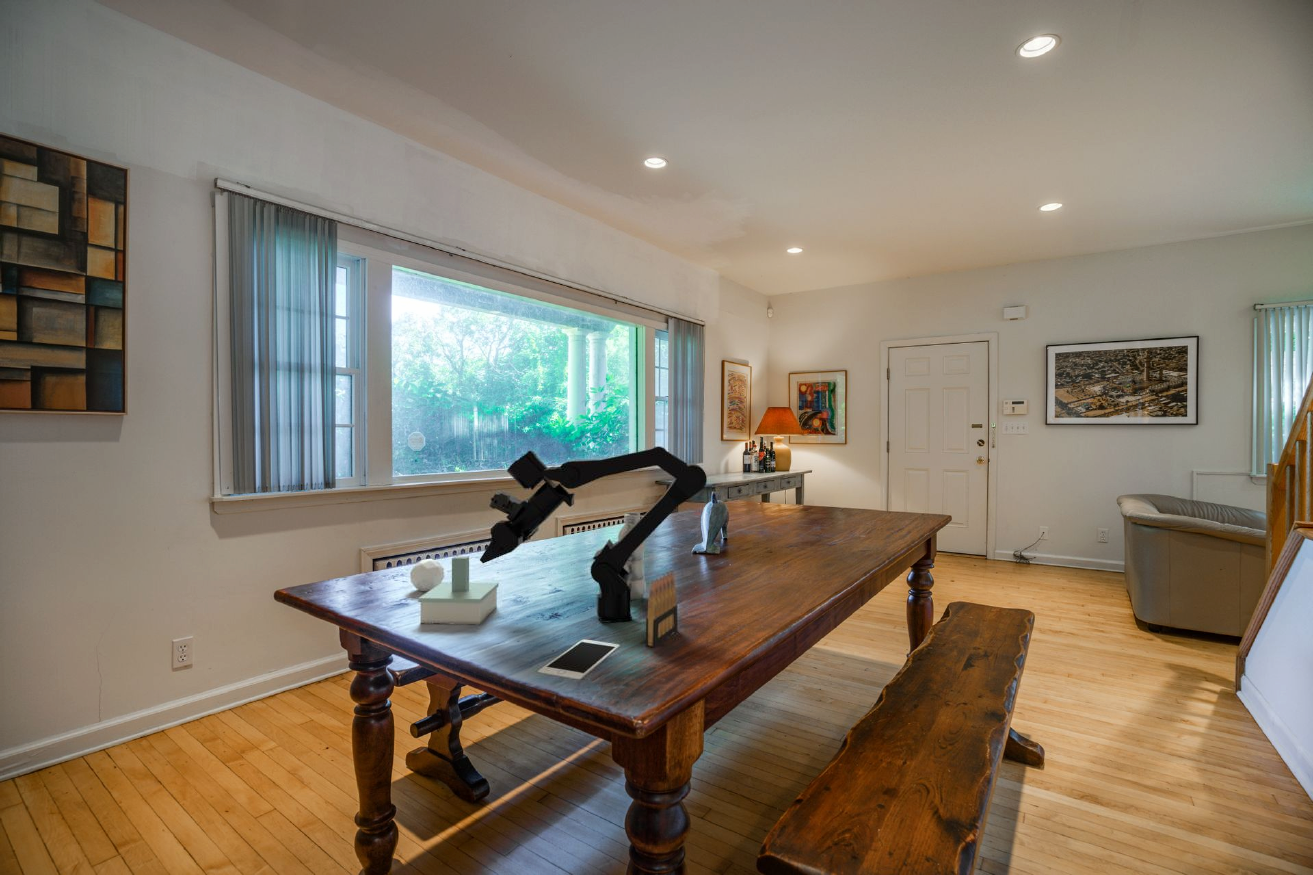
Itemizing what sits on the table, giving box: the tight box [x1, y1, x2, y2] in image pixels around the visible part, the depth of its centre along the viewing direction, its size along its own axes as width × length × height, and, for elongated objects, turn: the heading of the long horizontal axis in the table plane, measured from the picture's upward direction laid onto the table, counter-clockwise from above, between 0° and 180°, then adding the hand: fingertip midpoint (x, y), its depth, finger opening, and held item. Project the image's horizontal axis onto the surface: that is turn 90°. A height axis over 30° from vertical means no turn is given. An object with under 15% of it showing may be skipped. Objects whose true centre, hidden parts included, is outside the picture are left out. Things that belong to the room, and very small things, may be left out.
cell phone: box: [537, 639, 621, 681], centre depth 102 cm, size 8×16×1 cm, turn 160°
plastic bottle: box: [617, 512, 647, 601], centre depth 138 cm, size 6×7×20 cm
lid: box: [418, 555, 500, 603], centre depth 125 cm, size 13×13×9 cm
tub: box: [420, 587, 498, 626], centre depth 125 cm, size 12×12×4 cm
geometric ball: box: [409, 558, 445, 592], centre depth 144 cm, size 8×8×8 cm
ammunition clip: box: [645, 570, 678, 648], centre depth 112 cm, size 11×2×12 cm, turn 155°
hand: (488, 556), depth 125 cm, fingers open, 9 cm apart
